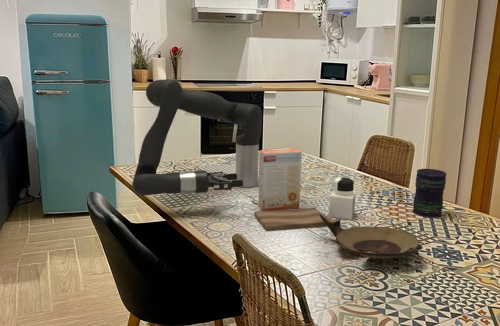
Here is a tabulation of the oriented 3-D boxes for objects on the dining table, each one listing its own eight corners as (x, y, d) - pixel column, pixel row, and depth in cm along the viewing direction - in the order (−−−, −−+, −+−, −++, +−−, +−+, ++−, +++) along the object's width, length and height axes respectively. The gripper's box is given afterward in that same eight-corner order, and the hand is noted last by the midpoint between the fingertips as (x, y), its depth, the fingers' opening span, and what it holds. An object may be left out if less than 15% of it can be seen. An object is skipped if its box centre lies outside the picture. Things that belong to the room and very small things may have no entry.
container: (354, 213, 175) (357, 177, 172) (351, 220, 168) (354, 183, 165) (332, 210, 178) (334, 174, 175) (328, 217, 171) (330, 180, 167)
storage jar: (420, 206, 184) (425, 167, 180) (446, 213, 177) (451, 172, 174) (407, 212, 177) (411, 171, 174) (433, 219, 170) (438, 177, 167)
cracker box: (294, 203, 184) (296, 147, 179) (299, 208, 178) (302, 151, 173) (257, 206, 180) (259, 149, 175) (262, 211, 175) (264, 153, 170)
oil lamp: (378, 280, 126) (380, 252, 125) (306, 239, 151) (308, 215, 150) (437, 262, 138) (441, 236, 136) (362, 227, 163) (364, 204, 161)
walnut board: (254, 216, 170) (254, 211, 169) (314, 211, 175) (314, 207, 175) (266, 230, 157) (266, 226, 156) (331, 225, 162) (331, 221, 162)
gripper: (196, 176, 161) (245, 174, 165) (189, 166, 174) (235, 164, 179) (196, 199, 163) (244, 196, 167) (190, 186, 176) (234, 184, 180)
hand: (239, 179), depth 173 cm, fingers open, 8 cm apart
